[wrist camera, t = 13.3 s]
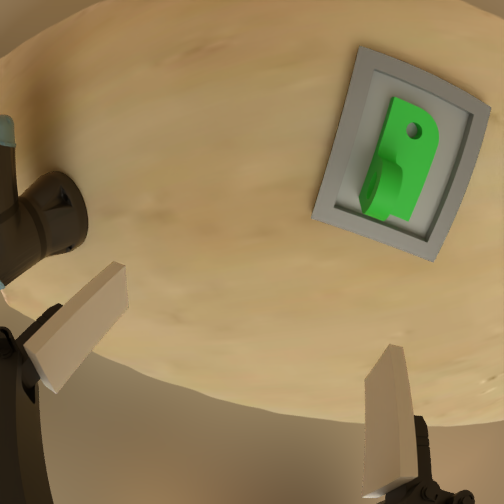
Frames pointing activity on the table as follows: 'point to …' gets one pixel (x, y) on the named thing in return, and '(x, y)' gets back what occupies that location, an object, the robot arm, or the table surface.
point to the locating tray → (450, 137)
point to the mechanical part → (399, 162)
